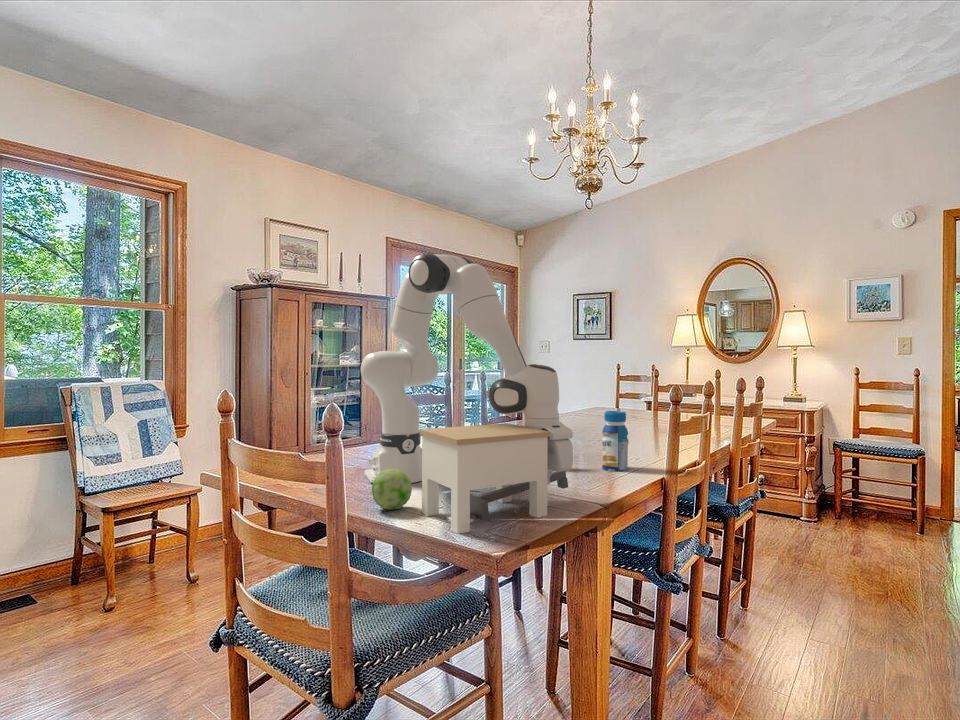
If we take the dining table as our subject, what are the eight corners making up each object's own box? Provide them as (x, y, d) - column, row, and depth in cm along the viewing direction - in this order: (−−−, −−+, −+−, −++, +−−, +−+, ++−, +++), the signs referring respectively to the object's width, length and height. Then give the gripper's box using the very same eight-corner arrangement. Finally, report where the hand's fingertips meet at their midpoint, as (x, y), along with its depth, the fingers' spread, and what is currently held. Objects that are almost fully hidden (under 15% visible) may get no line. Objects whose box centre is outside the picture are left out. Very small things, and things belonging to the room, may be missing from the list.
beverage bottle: (631, 476, 176) (631, 413, 175) (604, 476, 176) (604, 413, 175) (624, 470, 184) (624, 410, 184) (599, 470, 184) (599, 410, 184)
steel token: (440, 520, 129) (440, 514, 129) (465, 514, 134) (465, 509, 134) (457, 527, 124) (457, 522, 124) (482, 521, 128) (482, 516, 128)
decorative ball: (420, 508, 138) (420, 468, 138) (389, 517, 130) (389, 474, 130) (393, 501, 144) (393, 463, 144) (362, 509, 137) (363, 469, 137)
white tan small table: (419, 512, 134) (419, 429, 134) (505, 499, 147) (506, 423, 147) (456, 534, 118) (456, 439, 118) (550, 517, 131) (550, 431, 130)
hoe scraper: (483, 521, 127) (481, 503, 127) (465, 512, 135) (462, 495, 135) (576, 489, 141) (574, 473, 141) (554, 482, 149) (552, 467, 148)
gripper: (508, 425, 148) (508, 476, 148) (556, 434, 131) (556, 492, 131) (527, 423, 151) (527, 474, 151) (577, 432, 134) (577, 489, 134)
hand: (541, 483), depth 141 cm, fingers closed on hoe scraper, 2 cm apart
